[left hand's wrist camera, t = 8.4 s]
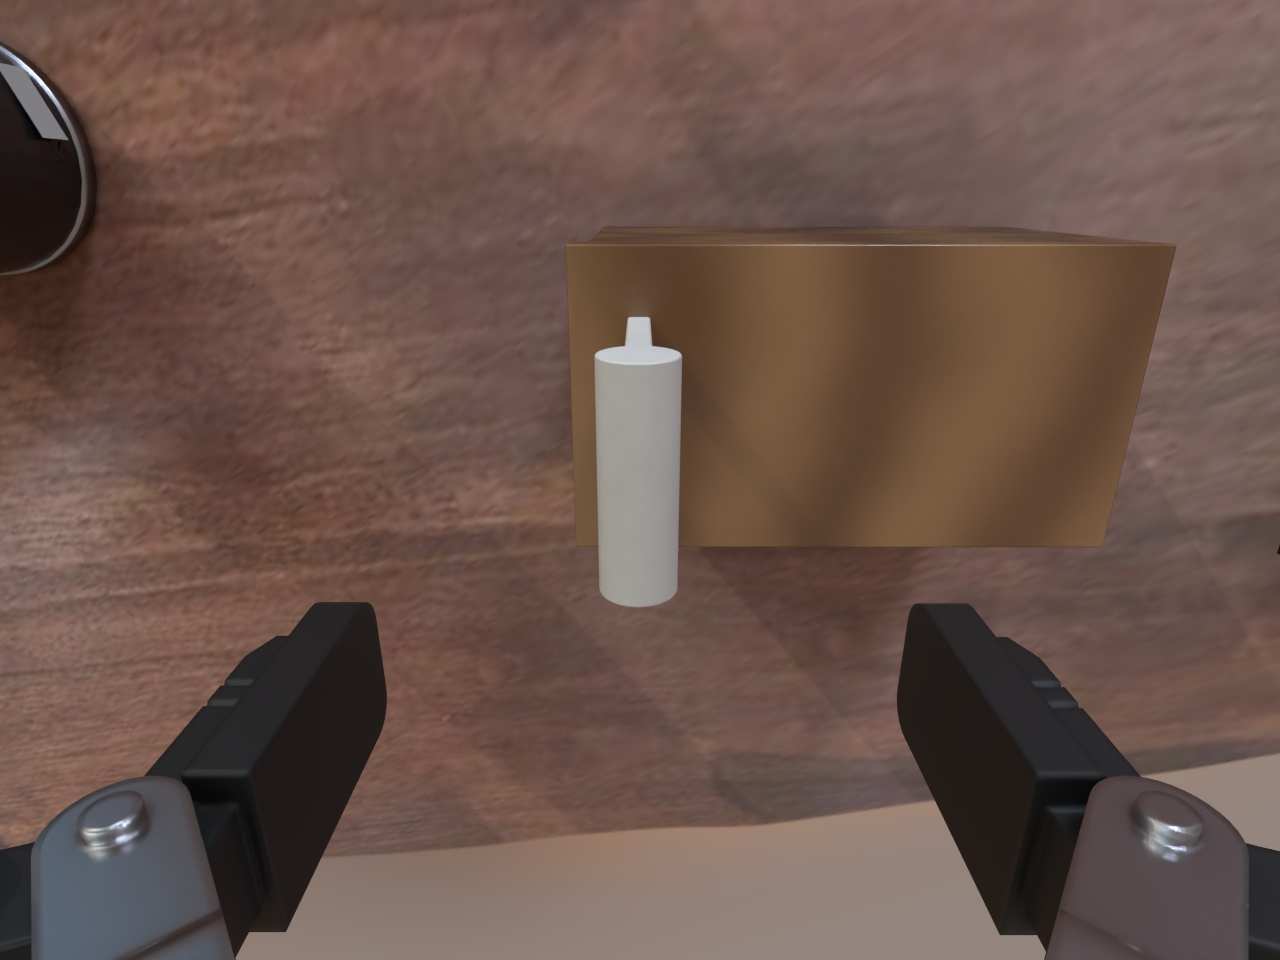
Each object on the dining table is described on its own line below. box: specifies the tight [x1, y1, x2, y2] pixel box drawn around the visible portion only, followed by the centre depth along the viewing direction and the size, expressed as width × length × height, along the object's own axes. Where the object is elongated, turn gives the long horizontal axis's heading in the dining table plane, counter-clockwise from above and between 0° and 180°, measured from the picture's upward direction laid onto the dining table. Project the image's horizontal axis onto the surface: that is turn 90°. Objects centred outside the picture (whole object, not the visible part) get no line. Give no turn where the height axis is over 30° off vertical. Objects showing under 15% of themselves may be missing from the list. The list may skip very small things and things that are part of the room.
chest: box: [590, 227, 1145, 242], centre depth 30 cm, size 17×10×10 cm, turn 90°
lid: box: [566, 242, 1176, 607], centre depth 21 cm, size 18×10×8 cm, turn 90°
